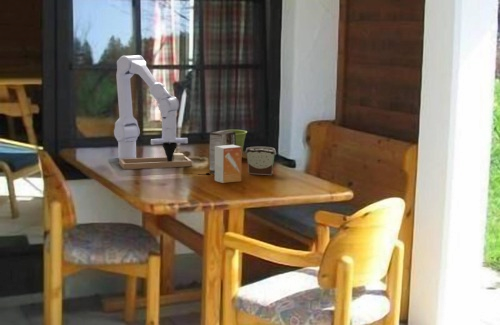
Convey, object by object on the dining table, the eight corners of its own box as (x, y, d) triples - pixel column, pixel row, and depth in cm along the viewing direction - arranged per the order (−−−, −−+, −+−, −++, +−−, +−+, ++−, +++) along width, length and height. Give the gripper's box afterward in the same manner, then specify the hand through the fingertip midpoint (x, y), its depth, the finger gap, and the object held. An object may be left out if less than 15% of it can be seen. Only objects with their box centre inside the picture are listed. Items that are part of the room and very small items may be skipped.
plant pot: (214, 159, 380) (214, 132, 378) (226, 154, 391) (226, 129, 389) (240, 160, 376) (240, 134, 374) (251, 156, 386) (251, 130, 385)
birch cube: (172, 163, 361) (172, 153, 360) (182, 162, 362) (181, 153, 361) (174, 164, 357) (174, 155, 356) (184, 164, 358) (183, 154, 357)
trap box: (119, 167, 359) (119, 158, 359) (185, 164, 367) (185, 156, 366) (123, 172, 348) (123, 163, 347) (191, 169, 355) (191, 160, 355)
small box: (223, 183, 328) (223, 148, 326) (214, 180, 333) (214, 146, 331) (241, 181, 332) (242, 146, 330) (232, 178, 338) (232, 144, 335)
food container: (280, 172, 350) (280, 147, 348) (275, 175, 344) (275, 149, 342) (250, 170, 354) (250, 145, 352) (245, 173, 348) (245, 147, 346)
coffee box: (223, 170, 354) (223, 129, 351) (236, 172, 350) (236, 131, 348) (208, 173, 347) (208, 132, 344) (222, 175, 343) (222, 133, 340)
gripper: (152, 129, 350) (153, 164, 353) (189, 128, 354) (189, 162, 357) (149, 127, 357) (150, 161, 359) (185, 126, 361) (185, 159, 363)
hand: (169, 161), depth 358 cm, fingers closed
